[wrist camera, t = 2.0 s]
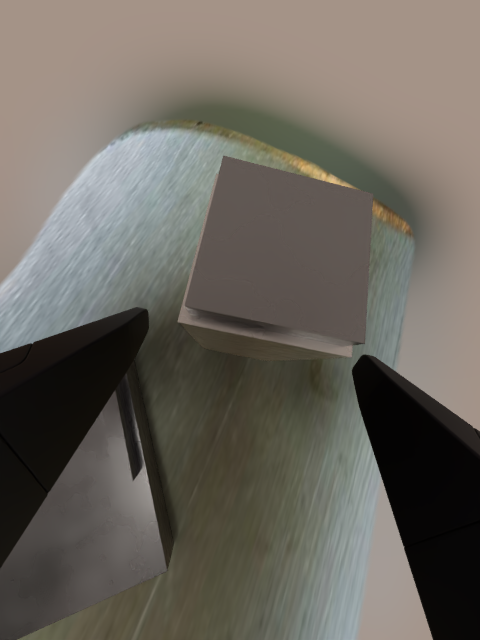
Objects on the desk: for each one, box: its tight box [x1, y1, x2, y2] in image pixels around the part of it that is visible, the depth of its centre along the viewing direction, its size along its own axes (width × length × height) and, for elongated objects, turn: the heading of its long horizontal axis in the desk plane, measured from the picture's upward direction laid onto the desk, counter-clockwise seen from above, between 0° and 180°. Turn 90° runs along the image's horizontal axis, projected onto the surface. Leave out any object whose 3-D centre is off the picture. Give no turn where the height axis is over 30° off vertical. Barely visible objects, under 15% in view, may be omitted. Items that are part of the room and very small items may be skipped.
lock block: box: [178, 156, 373, 361], centre depth 12 cm, size 6×6×13 cm
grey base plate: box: [0, 361, 174, 640], centre depth 13 cm, size 16×11×4 cm
